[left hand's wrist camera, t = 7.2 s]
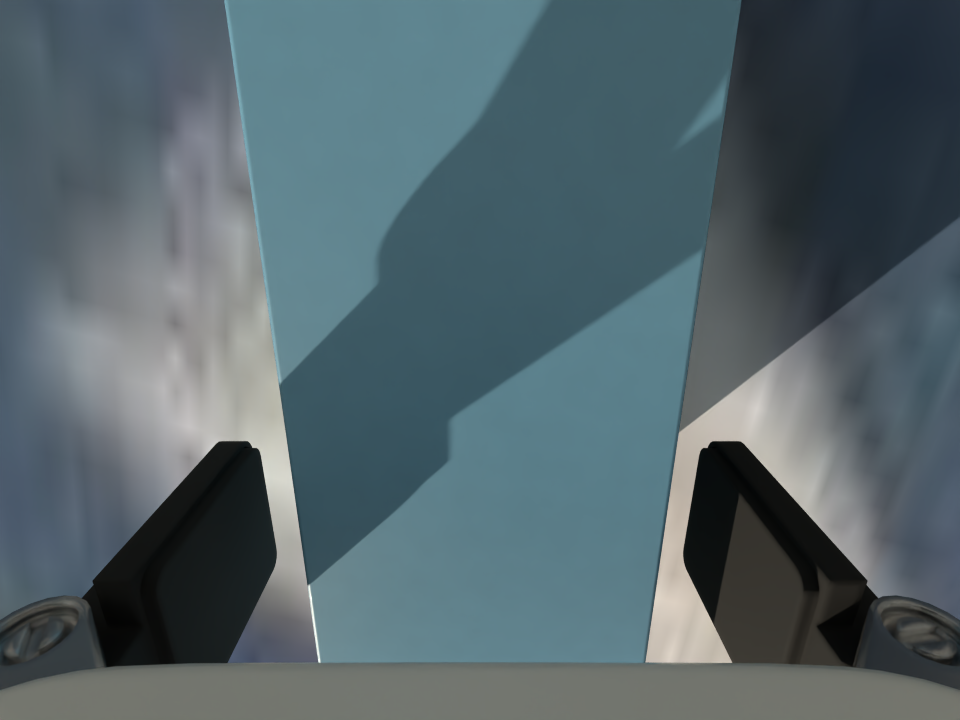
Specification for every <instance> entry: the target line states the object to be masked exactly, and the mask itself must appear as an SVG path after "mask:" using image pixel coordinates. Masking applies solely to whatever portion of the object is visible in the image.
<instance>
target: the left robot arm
mask: <svg viewBox="0 0 960 720" xmlns="http://www.w3.org/2000/svg"><path fill="white" fill-rule="evenodd" d="M276 558H277V550H276V544H275V538H274V532H273V526H272V520H271V514H270V508H269V502H268V496H267V490H266V484H265V478H264V472H263V466H262V460H261V455H260V451H259V450H258V449H257V448H252V446H251V444H250V443H249V442H248V441H221V442H218V443H217V444H216V445H215V446H214V447H213V448H212V449H211V450H210V451H209V452H208V454H207V455H206V456H205V457H204V458H203V459H202V460H201V461H200V462H199V464H198V465H197V466H196V467H195V468H194V469H193V470H192V471H191V472H190V474H189V475H188V476H187V477H186V478H185V479H184V480H183V481H182V482H181V483H180V485H179V486H178V487H177V488H176V489H175V490H174V491H173V492H172V493H171V495H170V496H169V497H168V498H167V499H166V500H165V501H164V502H163V503H162V504H161V506H160V507H159V508H158V509H157V510H156V511H155V512H154V513H153V514H152V516H151V517H150V518H149V519H148V520H147V521H146V522H145V523H144V524H143V525H142V527H141V528H140V529H139V530H138V531H137V532H136V533H135V534H134V535H133V537H132V538H131V539H130V540H129V541H128V542H127V543H126V544H125V545H124V546H123V548H122V549H121V550H120V551H119V552H118V553H117V554H116V555H115V556H114V558H113V559H112V560H111V561H110V562H109V563H108V564H107V565H106V566H105V568H104V569H103V570H102V571H101V572H100V573H99V574H98V575H97V576H96V577H95V579H94V580H93V584H94V585H93V586H92V587H91V589H90V590H89V591H88V592H87V593H86V594H85V595H84V596H83V597H82V598H80V597H77V596H58V597H51V598H47V599H44V600H40V601H37V602H34V603H31V604H29V605H27V606H25V607H22V608H20V609H18V610H16V611H14V612H12V613H11V614H9V615H7V616H6V617H4V618H3V619H1V620H0V720H960V620H959V619H957V618H956V617H954V616H953V615H951V614H949V613H948V612H946V611H944V610H942V609H940V608H938V607H935V606H933V605H931V604H929V603H926V602H923V601H920V600H916V599H913V598H909V597H902V596H883V597H880V598H878V597H877V596H876V595H875V594H874V593H873V592H872V591H871V590H870V589H869V587H868V586H867V585H866V584H867V580H866V579H865V577H864V576H863V575H862V574H861V573H860V572H859V571H858V570H857V569H856V568H855V566H854V565H853V564H852V563H851V562H850V561H849V560H848V559H847V558H846V556H845V555H844V554H843V553H842V552H841V551H840V550H839V549H838V548H837V546H836V545H835V544H834V543H833V542H832V541H831V540H830V539H829V538H828V537H827V535H826V534H825V533H824V532H823V531H822V530H821V529H820V528H819V527H818V525H817V524H816V523H815V522H814V521H813V520H812V519H811V518H810V517H809V516H808V514H807V513H806V512H805V511H804V510H803V509H802V508H801V507H800V506H799V504H798V503H797V502H796V501H795V500H794V499H793V498H792V497H791V496H790V495H789V493H788V492H787V491H786V490H785V489H784V488H783V487H782V486H781V485H780V483H779V482H778V481H777V480H776V479H775V478H774V477H773V476H772V475H771V474H770V472H769V471H768V470H767V469H766V468H765V467H764V466H763V465H762V464H761V462H760V461H759V460H758V459H757V458H756V457H755V456H754V455H753V454H752V453H751V451H750V450H749V449H748V448H747V447H746V446H745V445H744V444H743V443H742V442H739V441H712V442H711V443H710V444H709V446H708V448H703V449H702V450H701V451H700V455H699V460H698V466H697V472H696V478H695V484H694V490H693V496H692V502H691V508H690V514H689V520H688V526H687V532H686V538H685V544H684V550H683V558H684V564H685V567H686V570H687V572H688V574H689V576H690V578H691V580H692V582H693V584H694V586H695V588H696V590H697V592H698V594H699V596H700V598H701V600H702V602H703V604H704V606H705V608H706V610H707V612H708V614H709V616H710V618H711V620H712V622H713V624H714V626H715V628H716V630H717V632H718V634H719V636H720V638H721V640H722V642H723V644H724V646H725V648H726V650H727V653H728V655H729V657H730V659H731V661H732V663H618V662H342V663H228V661H229V659H230V657H231V655H232V652H233V650H234V648H235V646H236V644H237V642H238V640H239V638H240V636H241V634H242V632H243V630H244V628H245V626H246V624H247V622H248V620H249V618H250V616H251V614H252V612H253V610H254V608H255V606H256V604H257V602H258V600H259V598H260V596H261V594H262V592H263V590H264V588H265V586H266V584H267V582H268V580H269V578H270V576H271V574H272V572H273V570H274V567H275V564H276Z"/></svg>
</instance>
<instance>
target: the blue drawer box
mask: <svg viewBox="0 0 960 720" xmlns="http://www.w3.org/2000/svg"><path fill="white" fill-rule="evenodd" d="M224 1H225V8H226V15H227V22H228V29H229V36H230V43H231V50H232V57H233V64H234V71H235V78H236V85H237V92H238V99H239V106H240V113H241V120H242V127H243V134H244V141H245V148H246V156H247V163H248V170H249V177H250V184H251V191H252V198H253V205H254V212H255V219H256V226H257V233H258V240H259V247H260V254H261V261H262V268H263V275H264V282H265V289H266V296H267V303H268V310H269V317H270V324H271V331H272V338H273V345H274V352H275V360H276V367H277V374H278V381H279V388H280V395H281V402H282V409H283V416H284V423H285V430H286V437H287V444H288V451H289V458H290V465H291V472H292V479H293V486H294V493H295V500H296V507H297V514H298V521H299V528H300V535H301V542H302V549H303V556H304V564H305V571H306V578H307V585H308V592H309V599H310V606H311V613H312V620H313V627H314V634H315V641H316V648H317V655H318V662H319V663H342V662H618V663H645V661H646V654H647V647H648V640H649V633H650V626H651V619H652V612H653V606H654V599H655V592H656V585H657V578H658V571H659V564H660V557H661V551H662V544H663V537H664V530H665V523H666V516H667V509H668V502H669V496H670V489H671V482H672V475H673V468H674V461H675V454H676V447H677V441H678V434H679V427H680V420H681V413H682V406H683V399H684V392H685V386H686V379H687V372H688V365H689V358H690V351H691V344H692V337H693V331H694V324H695V317H696V310H697V303H698V296H699V289H700V282H701V276H702V269H703V262H704V255H705V248H706V241H707V234H708V227H709V221H710V214H711V207H712V200H713V193H714V186H715V179H716V172H717V166H718V159H719V152H720V145H721V138H722V131H723V124H724V117H725V111H726V104H727V97H728V90H729V83H730V76H731V69H732V62H733V56H734V49H735V42H736V35H737V28H738V21H739V14H740V7H741V1H742V0H224Z"/></svg>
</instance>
